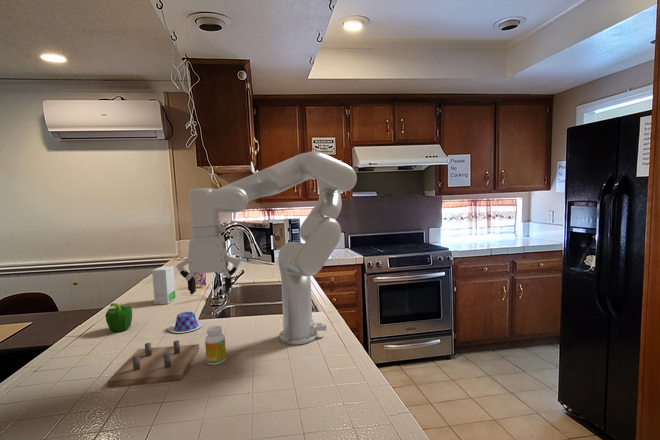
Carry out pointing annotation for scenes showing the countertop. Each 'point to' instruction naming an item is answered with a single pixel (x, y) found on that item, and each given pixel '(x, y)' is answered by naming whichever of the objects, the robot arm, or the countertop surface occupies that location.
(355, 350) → the countertop surface
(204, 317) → the countertop surface
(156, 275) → the skincare box
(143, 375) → the peg cradle
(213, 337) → the supplement bottle
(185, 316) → the pudding
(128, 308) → the bell pepper
